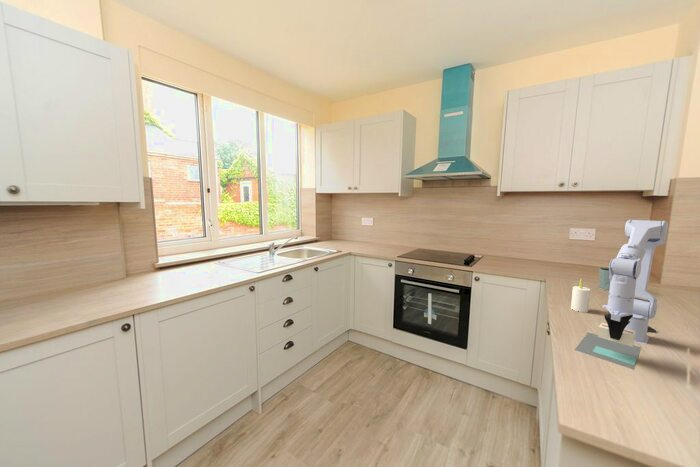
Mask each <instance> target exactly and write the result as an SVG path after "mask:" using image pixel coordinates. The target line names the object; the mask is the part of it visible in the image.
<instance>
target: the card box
mask: <svg viewBox="0 0 700 467" xmlns="http://www.w3.org/2000/svg"><path fill="white" fill-rule="evenodd" d="M635 333H636V331H633V330H629V329H625V328H624V331H623V333H622V336H621V338H620V340H616V339H612V338H610V334H609V327H608V324H607V323H605V322H600V325H598V333H597V335H598V337H600V338H604V339H607V340H611V341H614V342H618V343H621V344H624V345H628V346H631V347H633V345H634V344H635V342H634V341H635Z"/></svg>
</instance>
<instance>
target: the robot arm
mask: <svg viewBox="0 0 700 467" xmlns="http://www.w3.org/2000/svg"><path fill="white" fill-rule="evenodd" d="M668 230H669V222H668V221H667V220H647V219H646V220H644V219H643V220H642V219H631V218H630V219H628V220H627V221H626V222H625V226H624V234H625V237H626V239H627V241H628V242H627V243H625V244H623V245H622V246H621V248H620V249H619V251H618V253H617V255H616V257H615V258H611V259H610V262H609V264H608V265H609V266H608V268H609V280H611V281H610V289H609V291H608V300H607V304H603V305H602V306H601V307H602V309H605V310H607V311H608V314H610V315H608V314H604V320H605V321H606V324H608V327H609V334H610V338H612V339H616V340H620V338H621V336H622V333H623V331H624V328H625V329H629V330H633V331H636V333H635V341H634V343H637V344H638V343H639V344H642V345H645V346H647V344H648V341H649V336H648V335H647V334H648V332H647V329H648V326H649V320H650V319H654V318H655V317H656V314H657V309H658V299H657V296H655V295H654V294H653V293H651V292H650V291H648V288H649V282H650V276H651V270H652V264H653V259H654V253H655V251H656V249H657V247H658V246H663V245H665V243H666V242H667V235H668Z"/></svg>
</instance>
